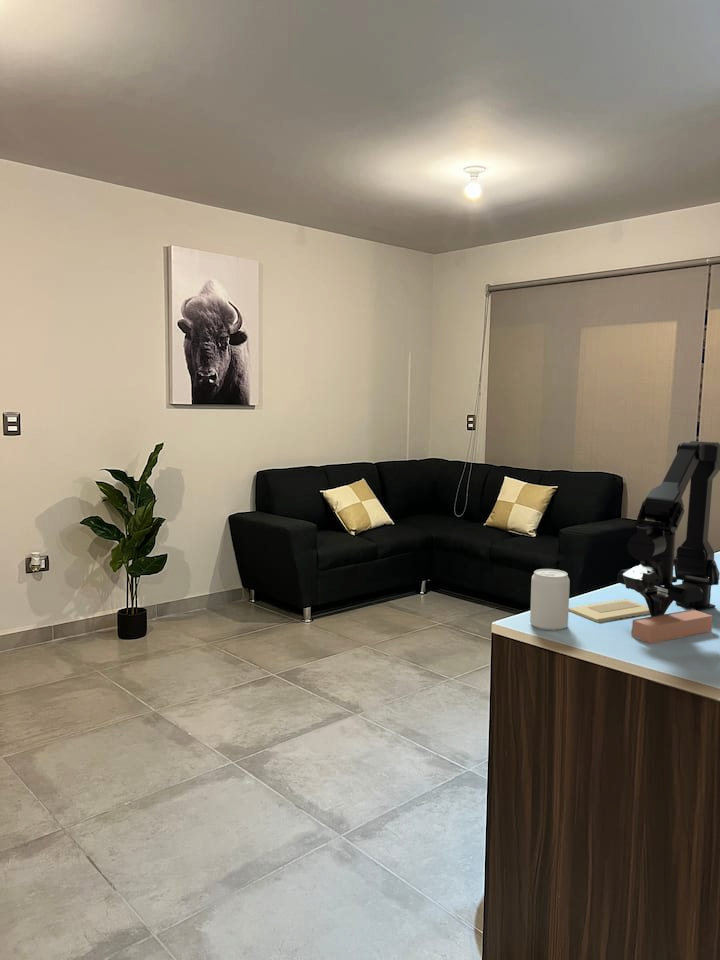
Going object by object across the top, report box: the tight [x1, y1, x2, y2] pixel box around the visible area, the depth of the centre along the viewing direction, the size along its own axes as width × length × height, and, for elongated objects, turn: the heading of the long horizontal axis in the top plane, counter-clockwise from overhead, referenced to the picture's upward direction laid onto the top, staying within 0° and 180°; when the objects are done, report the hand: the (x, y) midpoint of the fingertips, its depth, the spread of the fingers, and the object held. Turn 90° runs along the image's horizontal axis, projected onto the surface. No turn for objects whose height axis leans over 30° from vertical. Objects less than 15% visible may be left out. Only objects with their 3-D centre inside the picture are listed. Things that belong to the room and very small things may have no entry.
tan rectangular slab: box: [568, 598, 650, 623], centre depth 172 cm, size 18×10×1 cm, turn 115°
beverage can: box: [529, 568, 571, 631], centre depth 161 cm, size 8×8×12 cm
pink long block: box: [631, 609, 713, 644], centre depth 157 cm, size 18×5×4 cm, turn 115°
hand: (655, 623), depth 160 cm, fingers closed
